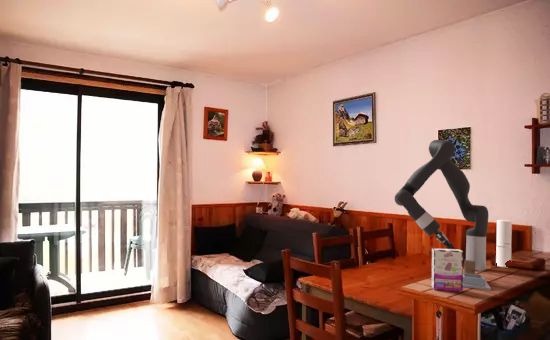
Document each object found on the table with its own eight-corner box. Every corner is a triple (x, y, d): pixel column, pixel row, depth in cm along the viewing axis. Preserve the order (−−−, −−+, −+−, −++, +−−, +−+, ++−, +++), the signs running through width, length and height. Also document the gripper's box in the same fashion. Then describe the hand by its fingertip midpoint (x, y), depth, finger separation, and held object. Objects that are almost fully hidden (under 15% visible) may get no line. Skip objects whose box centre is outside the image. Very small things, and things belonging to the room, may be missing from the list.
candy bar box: (459, 289, 160) (460, 249, 161) (463, 292, 155) (463, 251, 156) (430, 287, 162) (431, 247, 163) (433, 290, 157) (434, 249, 158)
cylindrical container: (513, 267, 211) (513, 221, 212) (498, 266, 212) (499, 220, 213) (508, 265, 218) (508, 220, 218) (494, 264, 219) (494, 219, 220)
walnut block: (464, 278, 181) (464, 259, 181) (473, 279, 180) (474, 260, 180) (465, 280, 177) (465, 261, 178) (474, 281, 176) (475, 262, 176)
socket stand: (456, 280, 176) (456, 271, 176) (485, 283, 172) (486, 274, 172) (458, 286, 165) (458, 277, 165) (490, 290, 160) (490, 280, 161)
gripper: (434, 219, 178) (461, 246, 174) (433, 217, 192) (458, 242, 187) (421, 230, 180) (448, 257, 175) (421, 227, 193) (446, 252, 189)
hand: (453, 249), depth 181 cm, fingers open, 8 cm apart
